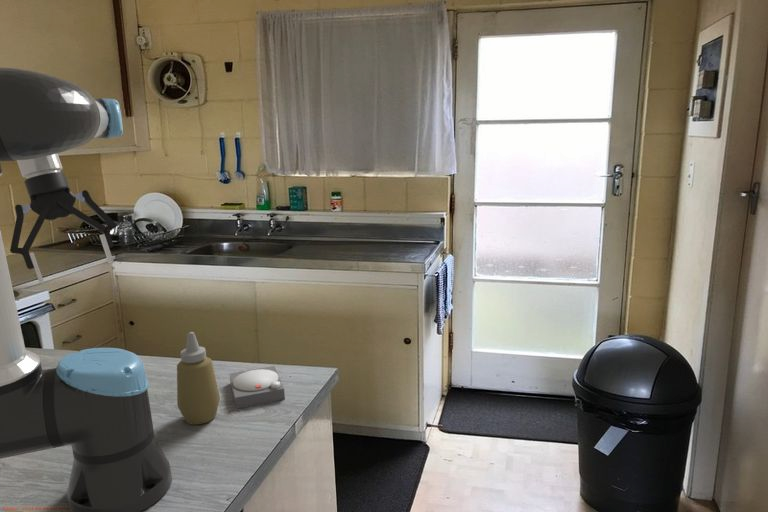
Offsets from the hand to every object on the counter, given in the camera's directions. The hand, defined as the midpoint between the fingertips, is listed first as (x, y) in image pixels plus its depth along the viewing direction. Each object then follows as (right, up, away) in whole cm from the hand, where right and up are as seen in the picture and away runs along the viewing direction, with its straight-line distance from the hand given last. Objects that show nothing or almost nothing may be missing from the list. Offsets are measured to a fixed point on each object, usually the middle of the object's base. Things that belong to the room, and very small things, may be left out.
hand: (77, 273), depth 121 cm
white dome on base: (+37, -26, +3) cm, 46 cm away
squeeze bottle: (+29, -29, -7) cm, 41 cm away
